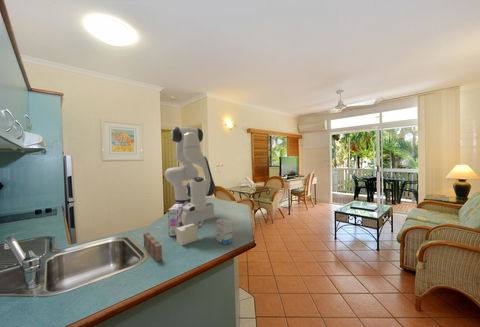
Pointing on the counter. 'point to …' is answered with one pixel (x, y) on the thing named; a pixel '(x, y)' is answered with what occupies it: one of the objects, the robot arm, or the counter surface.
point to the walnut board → (153, 246)
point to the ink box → (224, 231)
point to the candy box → (175, 218)
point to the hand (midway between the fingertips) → (199, 228)
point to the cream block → (187, 234)
